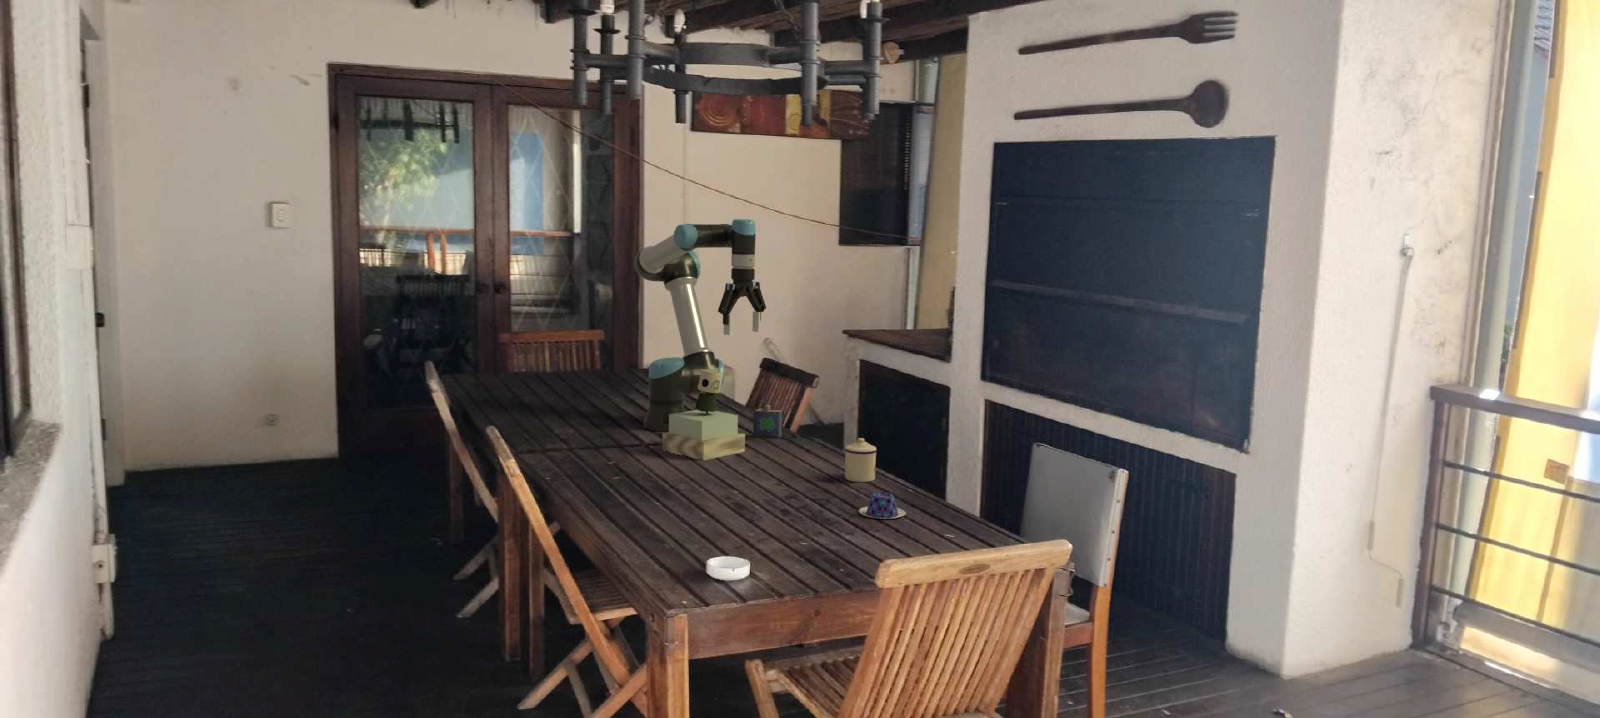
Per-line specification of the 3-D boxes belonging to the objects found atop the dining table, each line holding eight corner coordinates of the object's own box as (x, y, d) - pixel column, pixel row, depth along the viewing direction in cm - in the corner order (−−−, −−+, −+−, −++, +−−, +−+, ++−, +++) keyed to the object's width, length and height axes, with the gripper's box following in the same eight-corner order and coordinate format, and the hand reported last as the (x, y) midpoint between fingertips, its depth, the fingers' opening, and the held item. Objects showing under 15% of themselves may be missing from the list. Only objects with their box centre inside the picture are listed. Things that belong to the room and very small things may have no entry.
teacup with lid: (881, 480, 337) (883, 440, 335) (854, 483, 332) (855, 443, 331) (860, 471, 347) (861, 432, 345) (833, 474, 343) (834, 434, 341)
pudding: (858, 520, 297) (858, 499, 296) (858, 507, 308) (859, 487, 308) (906, 522, 296) (907, 501, 295) (905, 509, 308) (905, 489, 307)
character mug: (685, 408, 370) (693, 367, 370) (704, 410, 374) (712, 370, 374) (703, 414, 361) (711, 372, 361) (723, 416, 366) (731, 375, 365)
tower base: (662, 452, 368) (662, 433, 367) (703, 444, 382) (704, 425, 381) (703, 462, 357) (703, 442, 356) (744, 453, 370) (745, 434, 369)
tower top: (668, 433, 368) (669, 414, 367) (704, 427, 379) (704, 408, 378) (701, 440, 358) (702, 421, 357) (737, 434, 369) (737, 415, 368)
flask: (781, 436, 394) (782, 404, 393) (780, 438, 391) (781, 406, 390) (753, 435, 394) (754, 403, 393) (752, 437, 392) (753, 405, 390)
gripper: (724, 269, 370) (723, 337, 373) (777, 267, 389) (776, 331, 391) (707, 268, 374) (706, 335, 377) (760, 265, 393) (759, 329, 396)
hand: (742, 333), depth 384 cm, fingers open, 13 cm apart
